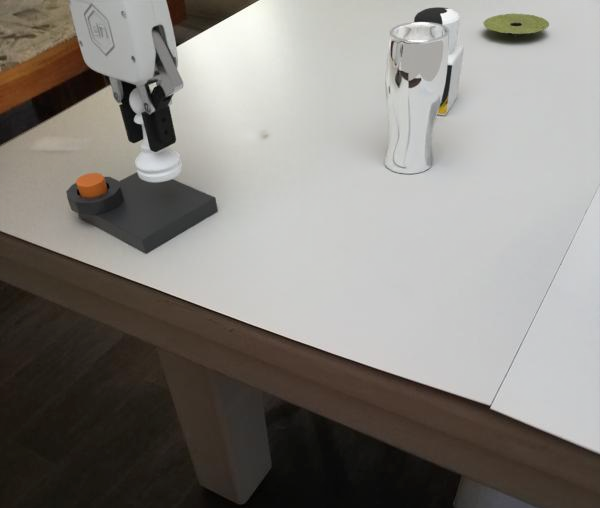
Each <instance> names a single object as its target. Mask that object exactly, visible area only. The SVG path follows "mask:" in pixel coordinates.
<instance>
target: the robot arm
mask: <svg viewBox="0 0 600 508" xmlns="http://www.w3.org/2000/svg"><path fill="white" fill-rule="evenodd" d="M67 1H68V5H69V10H70V14H71V18H72V22H73V26H74V30H75V35H76V38H77V42H78V45H79V48H80V52H81V56H82V58H83V61H84V63H85V65H86V66H87V67H88V68H89V69H91V70H93V71H94V72H96V73H99V74H101V75H103V76H104V78H105V80H106V81H107V83H108V85H110V87H111V90H112V95H113V99H114V101H115V102H116V103H117V104H119V105H118V106H119V111H120V114H121V117H122V121H123V125H124V129H125V133H126V137H127V140H128V142H130V143H132V144H136V143H139V142H142V141H143V130H142V125H141V124H137V123H135V122H134V117H135V115H136V113H135V112H134V111H133V110H132V108H131V106H130V102H129V98H130V94H131V92H132V91H133V90H134V89H135V88H137V87H138V90H139V93H140V97H141V100H142V103H143V107H144V110H145V112H143V113H141V114H142V119H143V123H144V127H145V131H146V135H147V139H148V143H149V147H150V150H151V151H153V152H158V151H160V150H162V149H164V148H166V147H170V146H171V145H174V144H175V143H176V142H177V136H176V132H175V131H176V130H175V126H174V122H173V118H172V113H171V107H170V106H172V104H173V100H172V98H173V96H174V94H176V93H177V92H179V91H181V90H183V88H184V87H185V86H184V82H183V81H184V80H183V79H182V77H181V75H180V73H179V70H178V67H179V56H178V49H177V42H176V37H175V32H174V27H173V21H172V18H171V13H170V10H169V6H168V1H167V0H67ZM155 83H156V84H155ZM152 84H155V85H156V86H153V88H152V93H151V92H150V89H151V88H150V85H152Z"/></svg>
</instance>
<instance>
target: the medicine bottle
mask: <svg viewBox="0 0 600 508" xmlns="http://www.w3.org/2000/svg"><path fill="white" fill-rule="evenodd" d="M460 21H461V17H460V14H459V13H458V12H457V11H455V10H454V9H452V8H449V7H440V6H439V7H438V6H437V7H436V6H435V7H429V8H424V9H423V10H421V11H419V12H417V13H416V15H415V16H414V19H413V22H432V23H438V24H441V25H444V26H446V27H447V28H449V30H450V33H449V52H448V66H447V75H446V82H445V87H444V91H443V96H442V100H441V103H440V107H439V110H438V114H437V116H443V117H444V116H447V114H448V113H449V111H450V109H451V108H452V106H453V104H454V103H455V101H456V100H457V98H458V94H459V87H460V80H461V72H462V65H463V56H464V49H465V48H464V46H463V45H461V44H457V43H458V35H459V27H460Z"/></svg>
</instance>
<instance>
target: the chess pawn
mask: <svg viewBox="0 0 600 508" xmlns="http://www.w3.org/2000/svg"><path fill="white" fill-rule="evenodd" d="M152 91H153V89H152V88H150V92H151V93H152ZM129 102H130V106H131V108H132V110H133V111H134V112H135V113H136V115H135V117H134V122H135V123H137V124H141V125H142V130H143V140H141V141H140V144H139V148H140V149H141V151H140V152H139V154H138V155H137V156H136V158H135V160H134V166H135V167H136V172H137V173H138V176H139V178H140V179H142V180H144V181H146V182H152V183H158V182H165V181H169V180H171V179H174V180H175V179H176V178H177V177H178V176H180V175H181V173H182V171H183V164H182V161H181V155H180V153H179V152H178V151H177V150H175V149H173V148H172V147H170V146H168V147H166V148H164V149H162V150H160V151H158V152H153V151H151V150H150V147H149V143H148V139H147V135H146V131H145V127H144V123H143V119H142V114H141V113H143V112H145V110H144V107H143V103H142V100H141V97H140V93H139V90H138V87H137V88H135V89H134V90H133V91H132V92H131V94H130V98H129Z"/></svg>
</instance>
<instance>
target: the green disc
mask: <svg viewBox="0 0 600 508" xmlns="http://www.w3.org/2000/svg"><path fill="white" fill-rule="evenodd" d="M482 23H483V26H484V28H486V29H488V30H490V31H494V32H498V33H502V34H508V33H512V34H511V35H513V34H515V35H517V34H518V35H521V34H522V35H524V34H534V33H538V32H541V31H544V30H546V29H547V28H549V26H550V22H549V21H548V20H547V19H545V17H540V16H538V15H534V14H525V13H505V14H498V15H493V16H490V17H488V18H486V19H485V20H484V21H483V22H482Z"/></svg>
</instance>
